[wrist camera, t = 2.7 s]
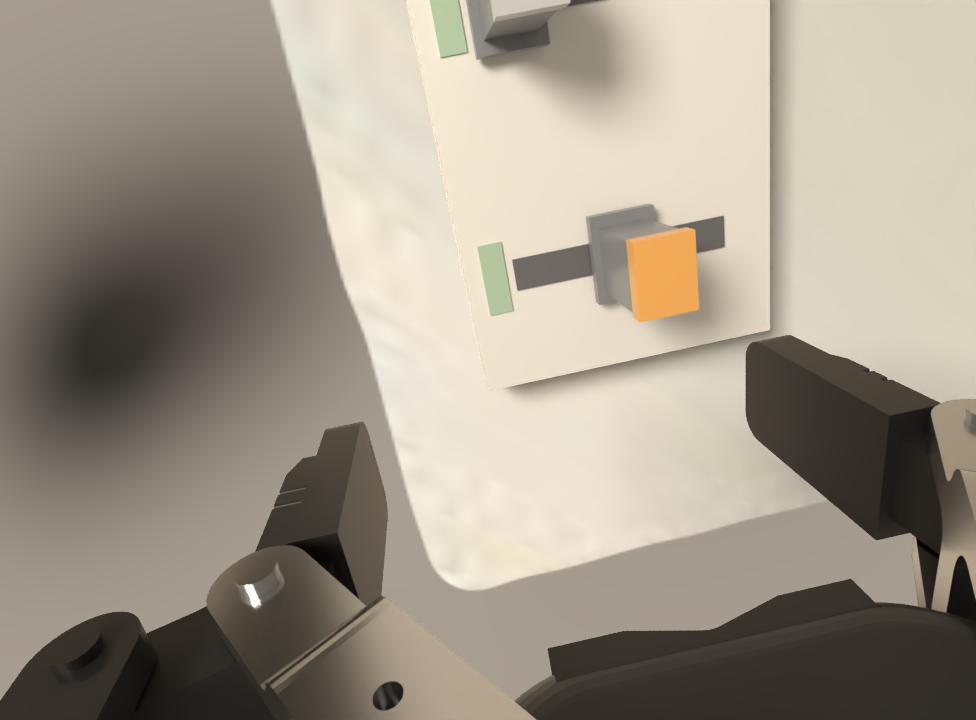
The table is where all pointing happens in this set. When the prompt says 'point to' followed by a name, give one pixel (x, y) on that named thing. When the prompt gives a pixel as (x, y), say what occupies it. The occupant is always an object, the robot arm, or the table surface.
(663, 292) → the orange and grey block
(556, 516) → the table surface
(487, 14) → the on lever
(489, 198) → the switch box
